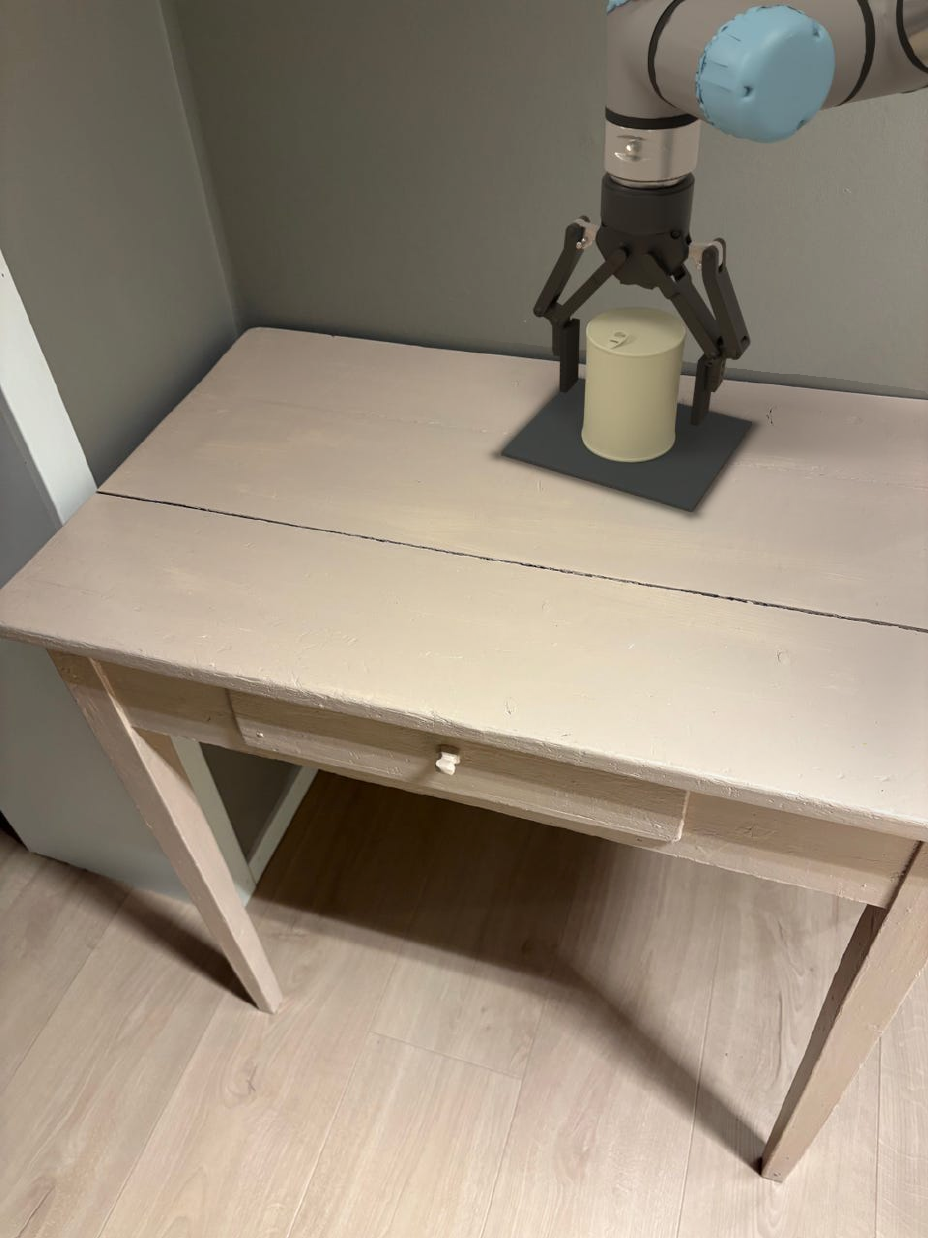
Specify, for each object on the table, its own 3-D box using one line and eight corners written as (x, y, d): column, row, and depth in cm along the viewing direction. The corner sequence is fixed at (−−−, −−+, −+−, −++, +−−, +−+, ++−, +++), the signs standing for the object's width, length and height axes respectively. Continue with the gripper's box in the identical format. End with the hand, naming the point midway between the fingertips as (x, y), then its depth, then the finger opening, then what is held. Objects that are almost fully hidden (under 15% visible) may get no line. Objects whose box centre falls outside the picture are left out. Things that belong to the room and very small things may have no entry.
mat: (752, 424, 97) (752, 421, 96) (692, 512, 87) (692, 508, 87) (573, 379, 105) (573, 376, 104) (501, 454, 95) (500, 451, 95)
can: (562, 440, 96) (565, 329, 87) (617, 401, 100) (625, 292, 92) (639, 474, 91) (649, 360, 83) (693, 431, 96) (708, 319, 87)
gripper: (492, 167, 81) (500, 390, 95) (785, 210, 71) (744, 453, 85) (535, 139, 85) (536, 356, 100) (816, 176, 75) (771, 413, 90)
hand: (632, 401), depth 93 cm, fingers open, 13 cm apart
